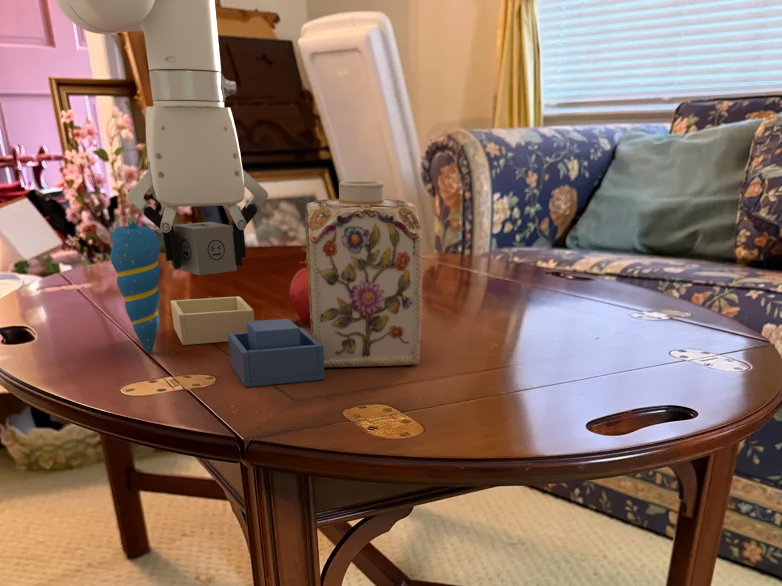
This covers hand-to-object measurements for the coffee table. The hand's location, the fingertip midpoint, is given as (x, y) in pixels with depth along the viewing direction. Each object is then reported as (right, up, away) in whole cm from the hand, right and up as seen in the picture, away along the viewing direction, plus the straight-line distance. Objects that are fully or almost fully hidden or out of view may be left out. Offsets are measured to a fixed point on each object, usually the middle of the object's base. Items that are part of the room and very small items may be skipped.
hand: (206, 264), depth 91 cm
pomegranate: (+14, -4, +11) cm, 18 cm away
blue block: (+10, -15, -11) cm, 21 cm away
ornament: (-5, -12, -4) cm, 14 cm away
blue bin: (+10, -15, -10) cm, 21 cm away
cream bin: (0, -7, +4) cm, 8 cm away
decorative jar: (+19, -12, -3) cm, 22 cm away
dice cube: (0, -1, 0) cm, 1 cm away
